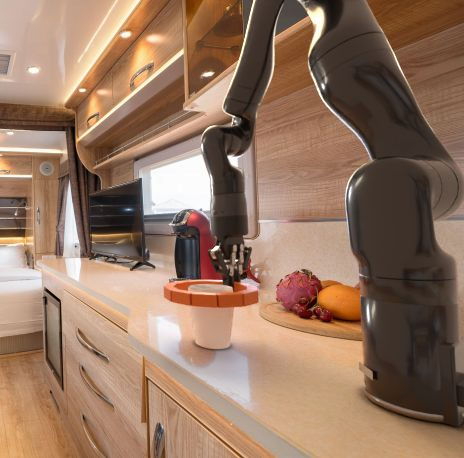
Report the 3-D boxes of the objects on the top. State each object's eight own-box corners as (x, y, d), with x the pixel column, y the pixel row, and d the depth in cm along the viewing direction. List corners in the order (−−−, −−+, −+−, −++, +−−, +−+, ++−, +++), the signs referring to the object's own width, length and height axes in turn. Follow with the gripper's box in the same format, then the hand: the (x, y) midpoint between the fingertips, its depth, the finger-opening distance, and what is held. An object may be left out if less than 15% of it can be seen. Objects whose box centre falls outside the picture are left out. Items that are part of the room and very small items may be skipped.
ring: (276, 298, 67) (276, 286, 67) (222, 312, 58) (221, 299, 58) (200, 286, 83) (199, 277, 83) (147, 297, 73) (147, 286, 74)
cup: (226, 336, 74) (223, 283, 74) (244, 351, 65) (241, 290, 65) (184, 337, 75) (182, 284, 75) (196, 352, 66) (194, 292, 66)
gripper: (225, 214, 68) (229, 298, 68) (262, 213, 75) (266, 289, 75) (194, 216, 74) (197, 293, 74) (231, 215, 81) (234, 285, 81)
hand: (232, 291), depth 74 cm, fingers closed on ring, 2 cm apart
